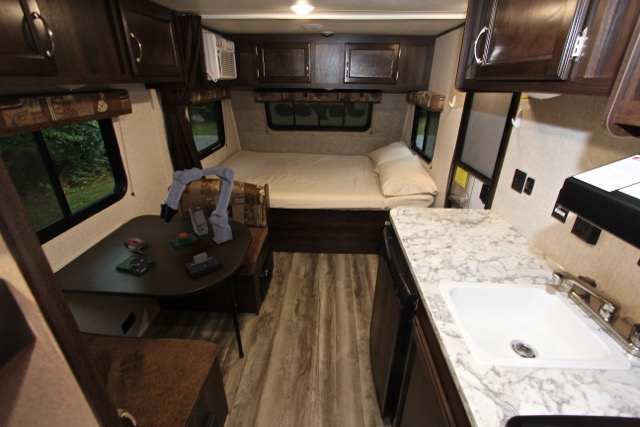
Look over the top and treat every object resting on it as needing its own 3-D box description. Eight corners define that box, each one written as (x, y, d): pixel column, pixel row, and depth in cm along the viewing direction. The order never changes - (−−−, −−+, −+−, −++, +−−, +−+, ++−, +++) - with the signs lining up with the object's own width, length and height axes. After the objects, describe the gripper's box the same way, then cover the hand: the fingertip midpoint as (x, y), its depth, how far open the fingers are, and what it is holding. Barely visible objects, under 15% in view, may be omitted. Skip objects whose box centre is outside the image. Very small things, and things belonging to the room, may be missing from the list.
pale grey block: (206, 258, 150) (205, 251, 149) (207, 260, 149) (206, 253, 147) (194, 263, 147) (193, 256, 145) (195, 264, 146) (194, 257, 144)
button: (186, 234, 171) (185, 232, 171) (188, 237, 169) (187, 234, 168) (179, 236, 169) (178, 234, 168) (181, 239, 166) (180, 236, 166)
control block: (192, 236, 177) (191, 230, 176) (198, 242, 171) (197, 236, 169) (171, 242, 170) (170, 236, 169) (176, 249, 164) (175, 243, 162)
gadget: (211, 257, 157) (210, 252, 156) (220, 267, 149) (220, 262, 147) (184, 267, 149) (183, 262, 147) (193, 278, 140) (191, 273, 139)
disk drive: (156, 264, 150) (133, 259, 154) (155, 260, 149) (132, 255, 153) (139, 276, 141) (115, 270, 145) (138, 272, 140) (114, 266, 144)
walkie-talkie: (120, 246, 165) (142, 256, 157) (118, 240, 163) (140, 249, 155) (135, 240, 172) (157, 249, 164) (133, 233, 170) (155, 242, 162)
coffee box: (209, 232, 181) (205, 209, 174) (198, 236, 177) (194, 212, 170) (203, 227, 187) (199, 204, 180) (193, 230, 183) (188, 207, 177)
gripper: (161, 189, 145) (151, 215, 144) (170, 193, 135) (159, 221, 134) (176, 194, 150) (166, 219, 149) (185, 198, 139) (175, 225, 139)
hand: (164, 220), depth 142 cm, fingers open, 7 cm apart
